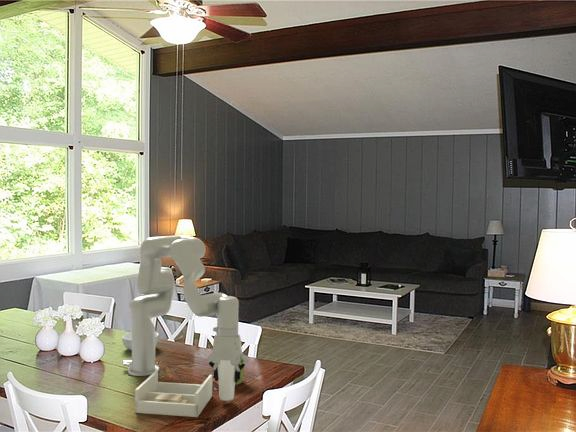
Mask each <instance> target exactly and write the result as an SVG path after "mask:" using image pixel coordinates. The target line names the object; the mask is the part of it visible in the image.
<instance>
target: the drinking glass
mask: <svg viewBox="0 0 576 432" xmlns="http://www.w3.org/2000/svg"><path fill="white" fill-rule="evenodd" d="M235 372H236V368H235V365H231V362H230V360H220V364H218V381H217V382H218V392H219V393H218V394H219V395H218V398H219V400H221V401H223V402H224V401H225V402H230V401H232V400H234V399H235V390H236V389H235V387H236V385H235Z"/></svg>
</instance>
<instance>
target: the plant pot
mask: <svg viewBox="0 0 576 432" xmlns="http://www.w3.org/2000/svg"><path fill="white" fill-rule="evenodd" d="M243 362H244V360H243V359H242V360H241V361H240V365H241V364H242V363H243ZM244 371H245V366H244V367H243V368H242V369H241V370H240V380H238V382H237V383H236V382H235V386H237V385H241V383H243V381H244V380H243V379H244Z"/></svg>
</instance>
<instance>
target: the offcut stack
mask: <svg viewBox="0 0 576 432" xmlns="http://www.w3.org/2000/svg"><path fill="white" fill-rule="evenodd" d="M155 401H157V402H172V403H187V404H188V400H185V399H182V395H177V394H162V393H160V394H159V395H158V396H157V397H156V398H155Z"/></svg>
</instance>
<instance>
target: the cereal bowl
mask: <svg viewBox="0 0 576 432" xmlns="http://www.w3.org/2000/svg"><path fill="white" fill-rule="evenodd" d="M159 340H160V333H158V331H155V346H156V345H158V342H159ZM121 341H122V345H123V346H124V347H125V348H126V349H127V350H130V351H132V331H130V332H127V333H124V334H123V335H122V337H121Z"/></svg>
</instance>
